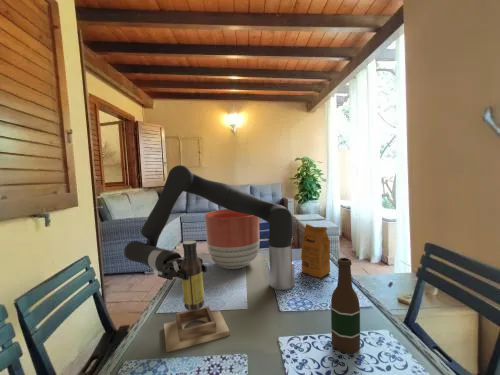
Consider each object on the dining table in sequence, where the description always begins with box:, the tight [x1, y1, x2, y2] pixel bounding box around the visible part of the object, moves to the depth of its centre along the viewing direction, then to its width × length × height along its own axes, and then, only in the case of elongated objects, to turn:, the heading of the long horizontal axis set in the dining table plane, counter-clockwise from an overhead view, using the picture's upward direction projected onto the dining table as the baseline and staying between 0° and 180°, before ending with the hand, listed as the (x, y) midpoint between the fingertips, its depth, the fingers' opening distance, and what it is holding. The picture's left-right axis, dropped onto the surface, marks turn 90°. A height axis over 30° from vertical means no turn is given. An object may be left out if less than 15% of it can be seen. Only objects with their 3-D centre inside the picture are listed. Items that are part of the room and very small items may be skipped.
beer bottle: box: [330, 257, 361, 355], centre depth 73 cm, size 8×8×24 cm
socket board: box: [163, 305, 231, 354], centre depth 82 cm, size 18×12×4 cm, turn 110°
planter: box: [204, 208, 260, 270], centre depth 134 cm, size 27×27×27 cm
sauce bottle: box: [181, 239, 205, 311], centre depth 81 cm, size 6×6×20 cm
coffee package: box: [300, 223, 331, 279], centre depth 122 cm, size 10×12×22 cm
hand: (197, 272), depth 79 cm, fingers closed on sauce bottle, 6 cm apart
